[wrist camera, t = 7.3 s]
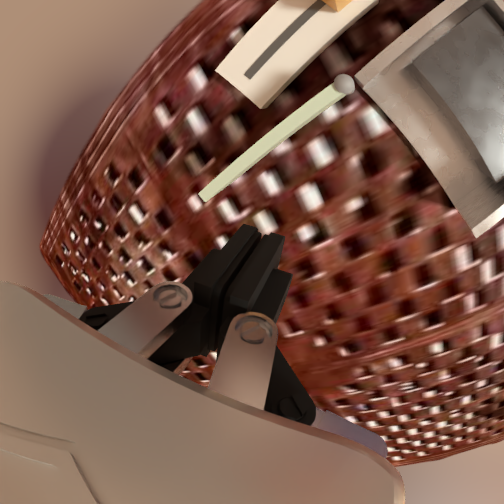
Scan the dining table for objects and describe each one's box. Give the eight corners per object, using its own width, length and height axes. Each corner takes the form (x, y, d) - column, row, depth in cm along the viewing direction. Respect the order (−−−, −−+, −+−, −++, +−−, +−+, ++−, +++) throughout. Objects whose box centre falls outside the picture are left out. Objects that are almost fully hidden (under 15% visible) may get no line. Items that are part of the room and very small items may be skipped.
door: (357, 89, 22) (358, 86, 16) (237, 180, 31) (205, 205, 25) (348, 77, 22) (345, 70, 16) (228, 170, 30) (195, 192, 25)
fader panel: (328, -34, 16) (325, -42, 14) (378, 3, 17) (379, -4, 15) (223, 71, 25) (214, 70, 24) (266, 107, 26) (259, 108, 24)
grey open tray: (458, -5, 13) (479, -25, 7) (549, 127, 15) (583, 140, 9) (354, 81, 22) (354, 75, 17) (456, 209, 24) (476, 238, 19)
